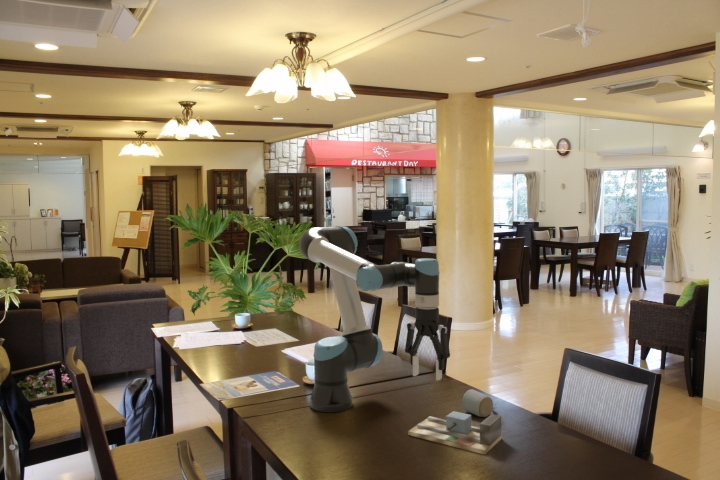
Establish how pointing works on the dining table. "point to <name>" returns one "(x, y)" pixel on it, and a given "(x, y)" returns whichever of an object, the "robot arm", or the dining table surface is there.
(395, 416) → the dining table surface
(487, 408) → the ceramic mug
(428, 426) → the gauge base
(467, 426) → the carriage
